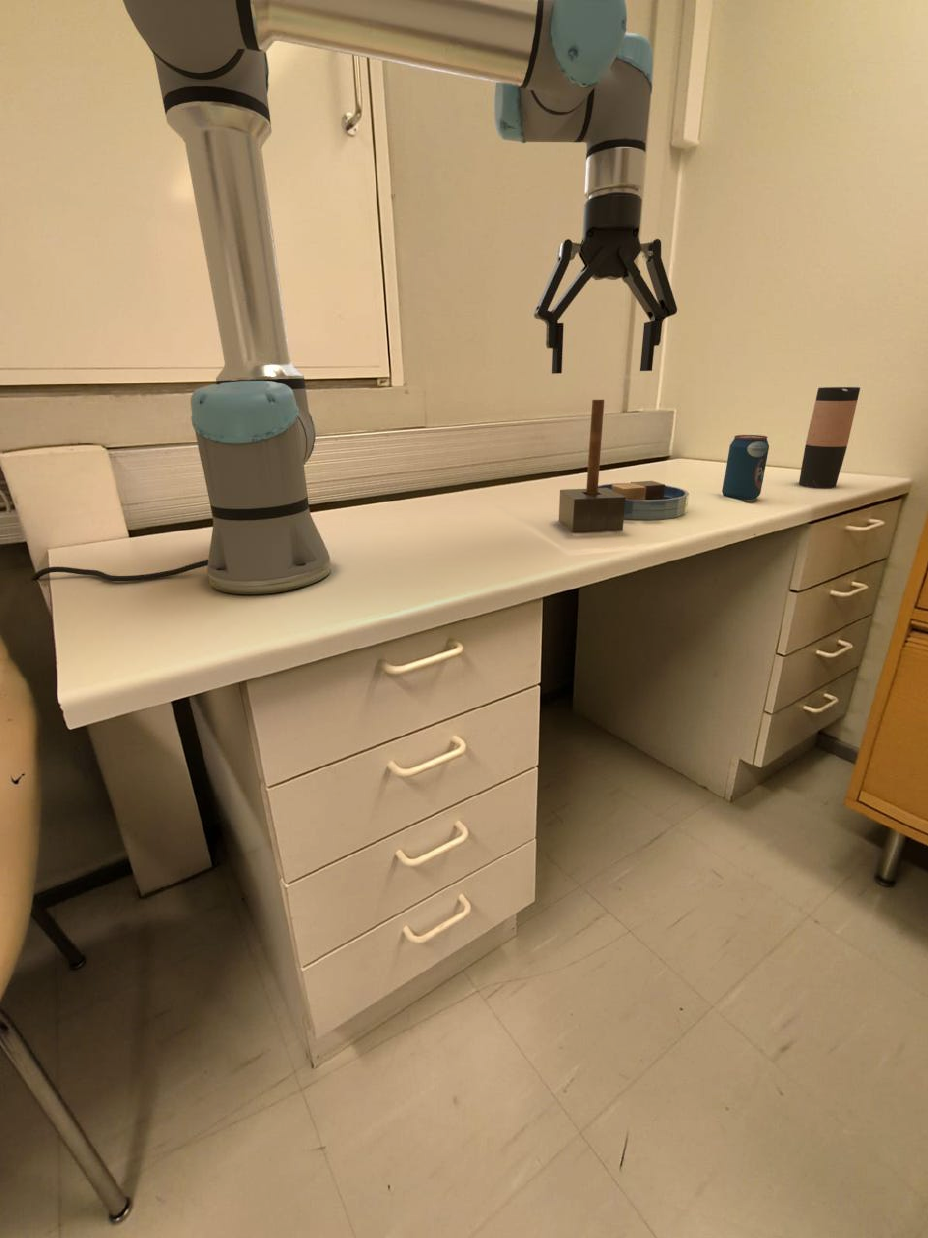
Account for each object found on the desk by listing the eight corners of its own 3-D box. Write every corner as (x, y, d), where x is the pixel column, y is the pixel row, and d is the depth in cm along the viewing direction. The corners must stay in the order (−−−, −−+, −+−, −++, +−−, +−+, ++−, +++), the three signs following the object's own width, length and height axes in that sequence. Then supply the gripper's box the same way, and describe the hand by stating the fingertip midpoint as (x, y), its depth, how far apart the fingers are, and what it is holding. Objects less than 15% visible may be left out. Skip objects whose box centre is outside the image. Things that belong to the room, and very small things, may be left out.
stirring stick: (585, 531, 92) (594, 399, 84) (582, 528, 93) (590, 399, 85) (596, 530, 92) (606, 399, 84) (592, 528, 94) (602, 399, 86)
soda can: (761, 503, 109) (774, 438, 104) (722, 501, 111) (733, 437, 106) (756, 496, 115) (767, 434, 110) (719, 494, 117) (729, 434, 112)
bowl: (606, 526, 94) (608, 502, 93) (575, 505, 110) (577, 484, 108) (703, 522, 96) (707, 498, 94) (660, 501, 112) (662, 481, 110)
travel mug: (805, 481, 129) (826, 386, 121) (842, 485, 124) (866, 386, 116) (791, 485, 125) (811, 387, 117) (829, 489, 119) (853, 387, 111)
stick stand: (572, 537, 89) (574, 499, 86) (558, 525, 96) (559, 489, 94) (622, 535, 89) (626, 497, 87) (604, 522, 97) (607, 487, 94)
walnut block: (640, 510, 101) (643, 486, 99) (628, 505, 105) (630, 482, 103) (662, 509, 102) (665, 484, 100) (649, 504, 106) (652, 480, 104)
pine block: (621, 513, 99) (623, 488, 98) (609, 508, 103) (611, 484, 101) (643, 512, 100) (646, 487, 98) (631, 507, 104) (633, 483, 102)
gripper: (688, 205, 79) (670, 370, 88) (514, 205, 77) (513, 374, 85) (716, 189, 73) (694, 369, 81) (526, 188, 70) (524, 374, 79)
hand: (601, 372), depth 83 cm, fingers open, 13 cm apart
